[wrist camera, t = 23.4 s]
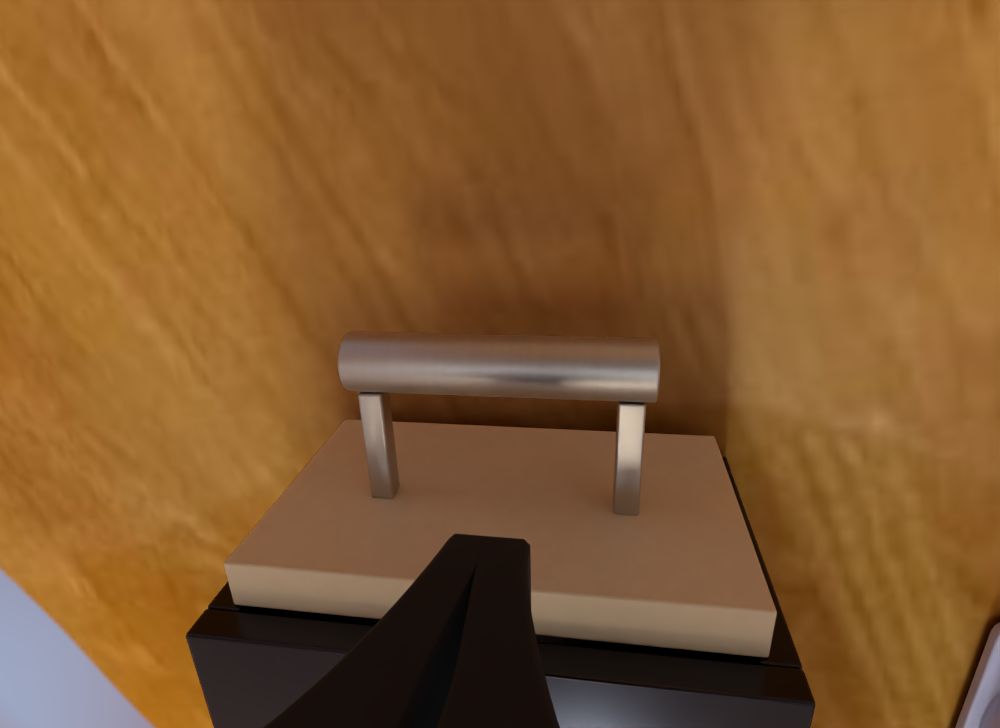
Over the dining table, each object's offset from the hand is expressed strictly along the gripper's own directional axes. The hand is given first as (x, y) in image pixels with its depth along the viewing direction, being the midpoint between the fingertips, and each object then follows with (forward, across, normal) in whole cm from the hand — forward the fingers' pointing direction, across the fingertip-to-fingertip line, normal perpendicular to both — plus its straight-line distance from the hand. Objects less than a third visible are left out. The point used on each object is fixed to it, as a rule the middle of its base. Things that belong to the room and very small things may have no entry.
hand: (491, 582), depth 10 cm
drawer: (+8, +1, +6) cm, 10 cm away
